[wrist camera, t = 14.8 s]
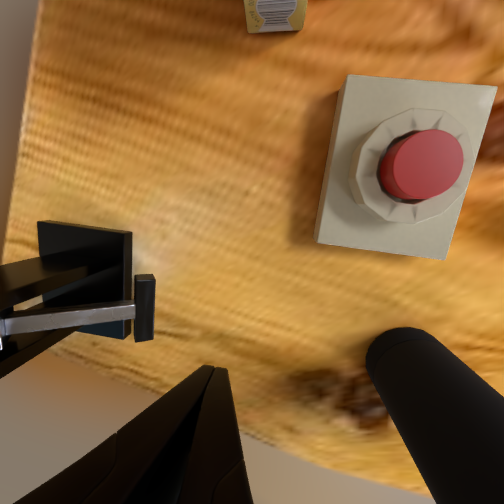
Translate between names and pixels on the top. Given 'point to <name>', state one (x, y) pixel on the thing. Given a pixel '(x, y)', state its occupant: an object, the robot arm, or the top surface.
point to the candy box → (274, 15)
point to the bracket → (67, 283)
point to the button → (422, 165)
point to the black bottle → (441, 415)
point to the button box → (373, 151)
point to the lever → (87, 314)
